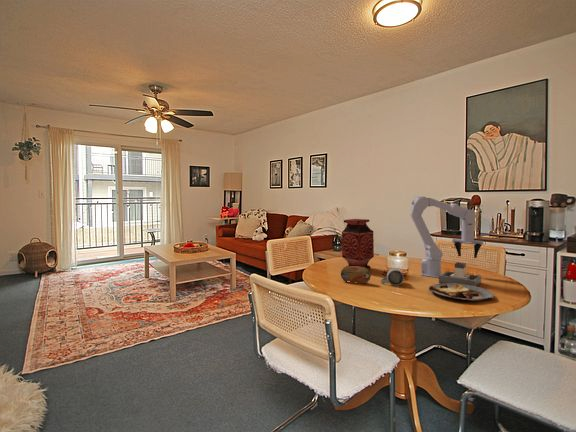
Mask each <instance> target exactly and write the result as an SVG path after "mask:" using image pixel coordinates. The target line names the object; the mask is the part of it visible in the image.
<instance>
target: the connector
mask: <svg viewBox="0 0 576 432" xmlns="http://www.w3.org/2000/svg"><path fill="white" fill-rule="evenodd" d="M466 268H467V263H465V262H458V261H456V262H455V263H454V272H455V276H458V277H466V274H467V272H466V271H467V269H466Z"/></svg>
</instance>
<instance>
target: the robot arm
mask: <svg viewBox="0 0 576 432" xmlns="http://www.w3.org/2000/svg"><path fill="white" fill-rule="evenodd" d="M410 204H411V207H410V217H411V219H412V222H413V223H414V225H415V228H416V230H417V232H418V233H419V236H420V238H421V240H422V242H423V244H424V246H423V247H424V248H425V251H424V252H425V255H426V258H422V260H421V265H420V266H421V271H420V273H421V274H420V275H421V276H426V277H431V278H436V279H437V278H438V279H439V275H441V274H442V257H443V251H442V250H441V249H440V248H439V247H438V245H437V244H436V242H435V241H434V239H433V236H432V235H431V233H430V231H429V229H428V227H427V225H426V223H425V220H424V218H423V213H424V211H425V210H426V209H427V208H428V207H436V208H438V209H442V210H445V211H446V212H447V213H448V214H449V215H452V216H454V217H456V218H457V217H458V218H460V219H461V238H452V243H453V244H454V245H453V246H454V247H455V250H456V252H457V257H462V256H461V255H462V244H469V245H473V248H474V251H473V253H474V254H473V255H474V256H473V259H477V257H478V253H479V251H480V249H481V247H482V246H483V245H484V240H479V239H478V240H477V239H474V237H475V219H476V218H477V214H476V212H475V211H474V210H473V209H468V208H467V207H465V206H464V207H463V206H460V205H459V203H451V204H448V203H445V202H443V201H440V200H437V199H435V198H433V197H432V198H431V197H426V196H416V197H414V198H413V199H412V202H411V203H410Z"/></svg>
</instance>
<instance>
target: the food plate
mask: <svg viewBox="0 0 576 432" xmlns="http://www.w3.org/2000/svg"><path fill="white" fill-rule="evenodd" d="M428 290H429V291H430V292H432V293H434V294H437V295H438V296H442V297H445V298H449V299H455V300H460V301H461V300H462V301H465V300H466V301H468V302H469V301H470V302H480V301H483V300H487V299H490V298H491V299H493V298H495V295H494V294H493V292H492V291H490V290H488V289H486V288H483V287H481V286H480V287H479V286H477V287H476V286H471V285H465V284H456V283H436V284H431V285H430V286H429V287H428Z"/></svg>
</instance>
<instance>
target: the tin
mask: <svg viewBox="0 0 576 432" xmlns="http://www.w3.org/2000/svg"><path fill="white" fill-rule="evenodd" d="M346 266H347V267H346ZM346 266H345V267H343V268H342V269H341V270H340V277H341V279H342V280H343V281H344V282H345V281H350V282H357V283H356V284H358V283H365V284H368V283H369V281H370V280H371V276H372V275H371V271H370V269H367V268H365V267H355V266H348V265H346Z"/></svg>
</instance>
